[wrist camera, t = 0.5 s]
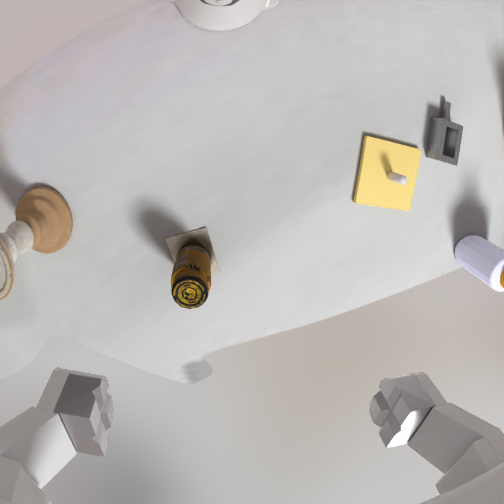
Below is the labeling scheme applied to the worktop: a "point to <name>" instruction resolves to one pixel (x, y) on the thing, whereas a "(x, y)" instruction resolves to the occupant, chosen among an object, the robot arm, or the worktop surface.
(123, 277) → the worktop surface
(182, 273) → the condiment
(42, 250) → the candle holder
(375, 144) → the keeper
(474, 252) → the soap bottle
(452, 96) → the worktop surface
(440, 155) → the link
